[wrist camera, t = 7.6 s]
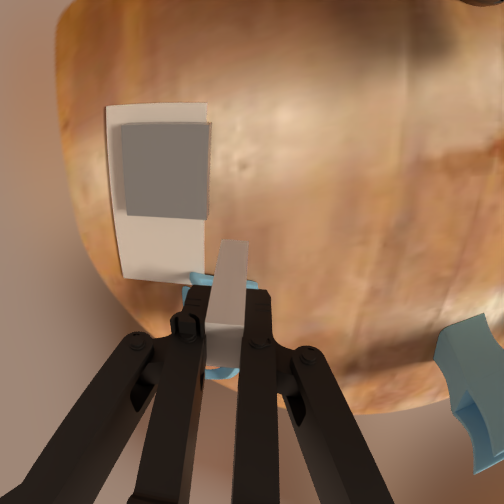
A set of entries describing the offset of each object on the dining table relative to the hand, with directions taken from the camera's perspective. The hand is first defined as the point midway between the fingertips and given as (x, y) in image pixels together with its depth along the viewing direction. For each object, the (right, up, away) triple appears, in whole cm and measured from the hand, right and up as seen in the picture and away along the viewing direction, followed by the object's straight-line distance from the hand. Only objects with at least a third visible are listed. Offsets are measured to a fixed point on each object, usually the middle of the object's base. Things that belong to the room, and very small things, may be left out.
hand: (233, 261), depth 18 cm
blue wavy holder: (+39, -15, +28) cm, 50 cm away
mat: (-10, +6, +16) cm, 19 cm away
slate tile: (-3, +9, +13) cm, 16 cm away
